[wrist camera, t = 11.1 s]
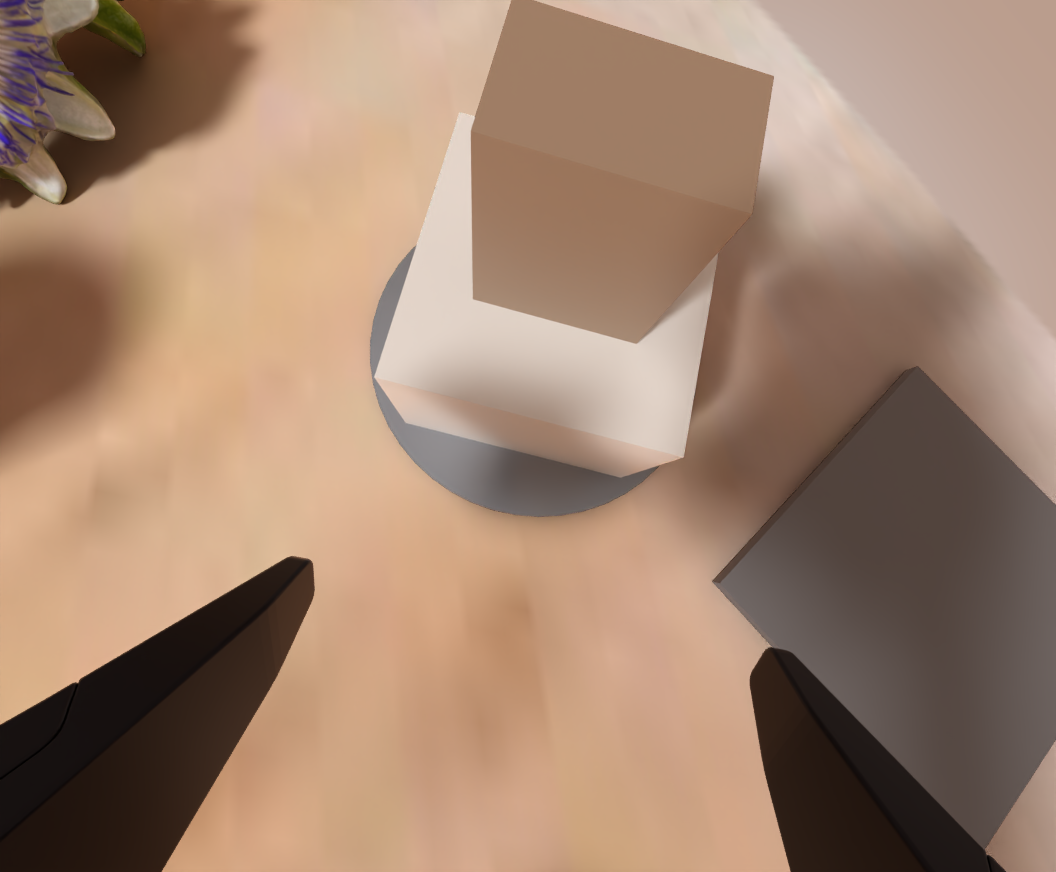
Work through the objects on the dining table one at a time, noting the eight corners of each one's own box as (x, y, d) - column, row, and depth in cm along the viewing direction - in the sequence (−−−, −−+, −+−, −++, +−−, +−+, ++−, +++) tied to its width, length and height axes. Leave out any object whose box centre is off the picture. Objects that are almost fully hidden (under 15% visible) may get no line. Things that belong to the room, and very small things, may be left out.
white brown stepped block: (620, 477, 19) (843, 405, 8) (405, 422, 19) (290, 255, 7) (659, 284, 21) (885, -13, 10) (463, 228, 21) (449, -158, 9)
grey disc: (411, 556, 18) (394, 565, 14) (342, 235, 20) (312, 168, 17) (734, 470, 20) (794, 458, 17) (642, 187, 23) (676, 118, 19)
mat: (960, 851, 19) (976, 862, 18) (712, 581, 19) (719, 583, 19) (1129, 595, 21) (1147, 597, 21) (906, 370, 22) (917, 366, 22)
